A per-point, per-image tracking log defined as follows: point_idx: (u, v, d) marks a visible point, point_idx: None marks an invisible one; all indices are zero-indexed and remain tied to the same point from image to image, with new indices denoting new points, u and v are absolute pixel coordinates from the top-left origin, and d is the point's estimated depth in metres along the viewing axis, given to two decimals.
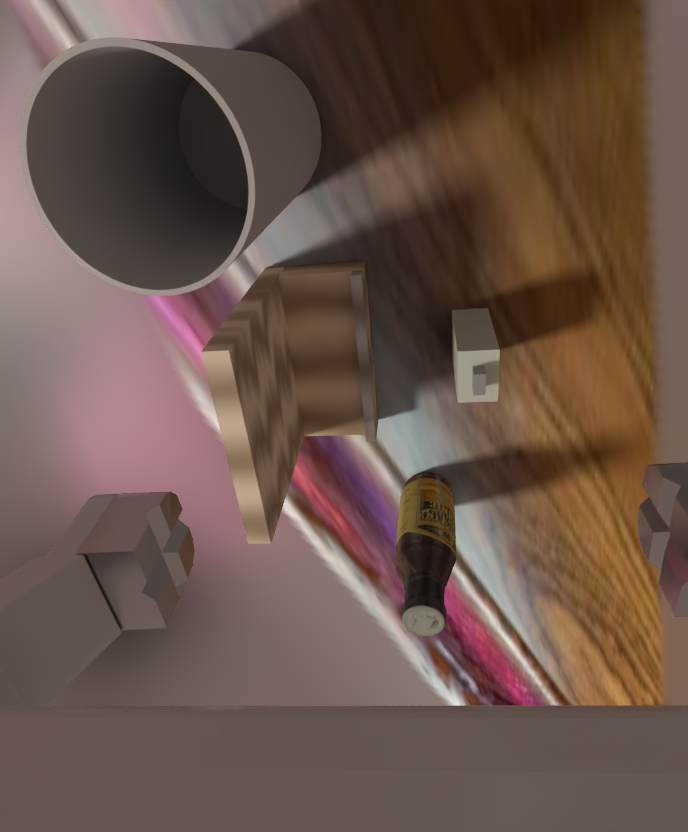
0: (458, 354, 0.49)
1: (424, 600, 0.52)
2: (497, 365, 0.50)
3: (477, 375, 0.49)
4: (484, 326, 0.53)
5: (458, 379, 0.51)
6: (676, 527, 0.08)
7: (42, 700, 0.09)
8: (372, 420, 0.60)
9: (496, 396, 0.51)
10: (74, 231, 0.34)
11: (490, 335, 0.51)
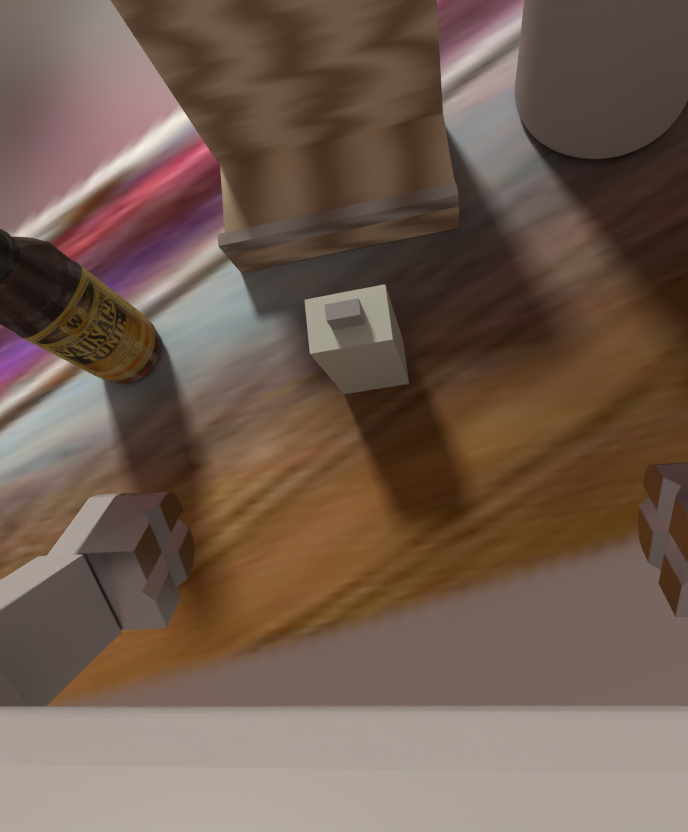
0: (380, 286, 0.35)
1: None
2: (367, 341, 0.34)
3: (357, 303, 0.33)
4: (400, 353, 0.39)
5: (341, 294, 0.35)
6: (676, 527, 0.08)
7: (42, 700, 0.09)
8: (251, 237, 0.43)
9: (317, 350, 0.35)
10: None
11: (397, 349, 0.37)
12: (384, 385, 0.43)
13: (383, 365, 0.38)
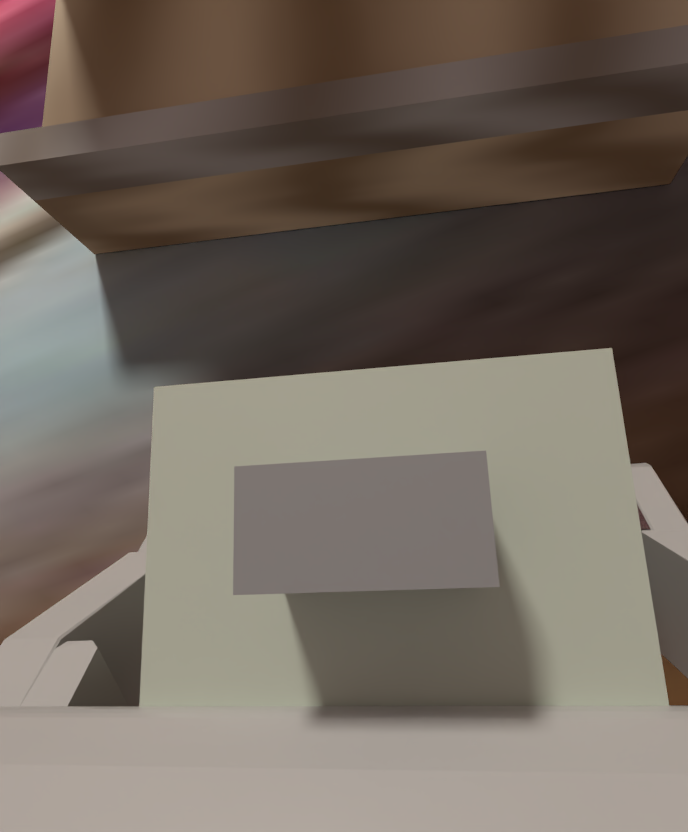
0: (583, 358, 0.06)
1: None
2: (496, 704, 0.05)
3: (476, 491, 0.04)
4: None
5: (352, 378, 0.06)
6: None
7: (135, 700, 0.09)
8: (89, 146, 0.15)
9: None
10: None
11: None
12: None
13: None
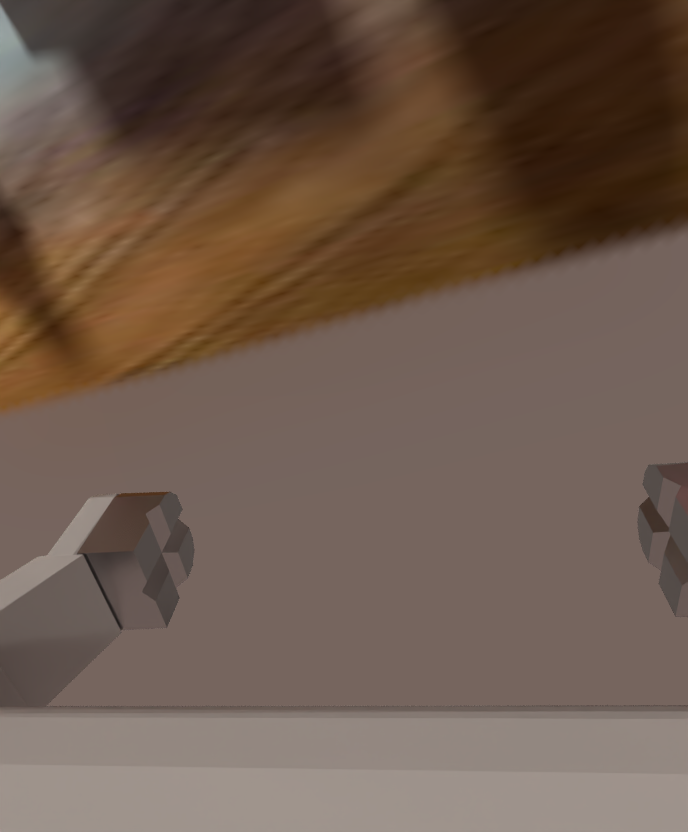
0: None
1: None
2: None
3: None
4: None
5: None
6: (676, 527, 0.08)
7: (42, 700, 0.09)
8: None
9: None
10: None
11: None
12: None
13: None
